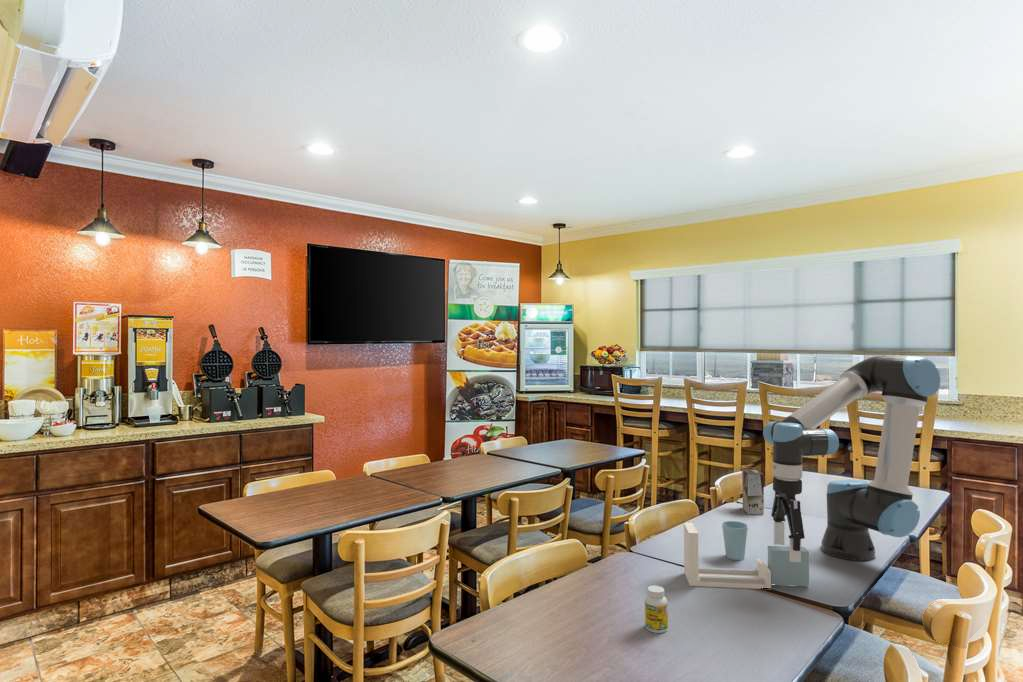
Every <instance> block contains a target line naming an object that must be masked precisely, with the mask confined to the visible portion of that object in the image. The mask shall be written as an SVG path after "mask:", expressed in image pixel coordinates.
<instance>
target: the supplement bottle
mask: <svg viewBox="0 0 1023 682" xmlns="http://www.w3.org/2000/svg"><path fill="white" fill-rule="evenodd" d="M646 593H647V595H646V596H645V598H644V620H645V621H644V623H645V628H646V630H647V631H650V632H652V633H654V634H661V633H665V632H667V631H668V629H669V616H668V615H669V613H668V611H669V610H668V609H669V608H668V599H667V598H666V596H665V589H664V587H662V586H660V585H650V586H647V591H646Z"/></svg>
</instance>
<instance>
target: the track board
mask: <svg viewBox="0 0 1023 682" xmlns="http://www.w3.org/2000/svg"><path fill="white" fill-rule="evenodd" d="M683 538H684V539H683V562H684V563H683V565H684V568H683V569H684V571H683V572H684V576H685V578H686V580H687V582H688V586H689V587H707V588H708V587H711V588H731V589H732V588H733V589H735V588H736V589H753V590H754V589H755V590H764V589H763V588H771V589H772V585H771V571H770V570H769V568H768V565H766V563H765V561H764V560H763V558H756V564H755V565H756V569H754V568H753V569H750V568H732V567H731V568H729V567H727V568H726V567H725V568H724V567H703V566H702V567H699V532H698V530H697V528H696V527H695V525H694V523H692V522H684V523H683ZM761 588H762V589H761Z"/></svg>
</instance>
